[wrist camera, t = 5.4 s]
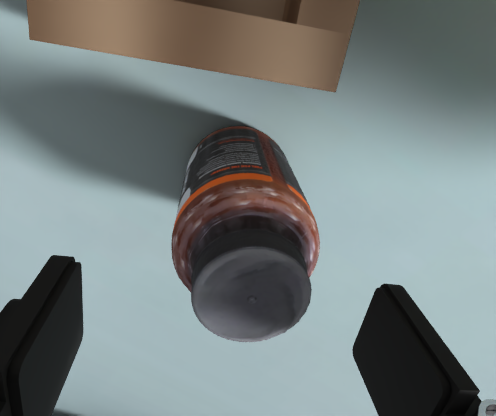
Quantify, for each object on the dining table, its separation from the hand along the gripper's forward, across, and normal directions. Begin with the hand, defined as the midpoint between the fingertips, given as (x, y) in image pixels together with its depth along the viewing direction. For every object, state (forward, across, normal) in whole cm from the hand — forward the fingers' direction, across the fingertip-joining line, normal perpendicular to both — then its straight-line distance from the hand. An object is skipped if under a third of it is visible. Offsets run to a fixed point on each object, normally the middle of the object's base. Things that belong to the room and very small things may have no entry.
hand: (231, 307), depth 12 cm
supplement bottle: (+12, -1, 0) cm, 12 cm away
